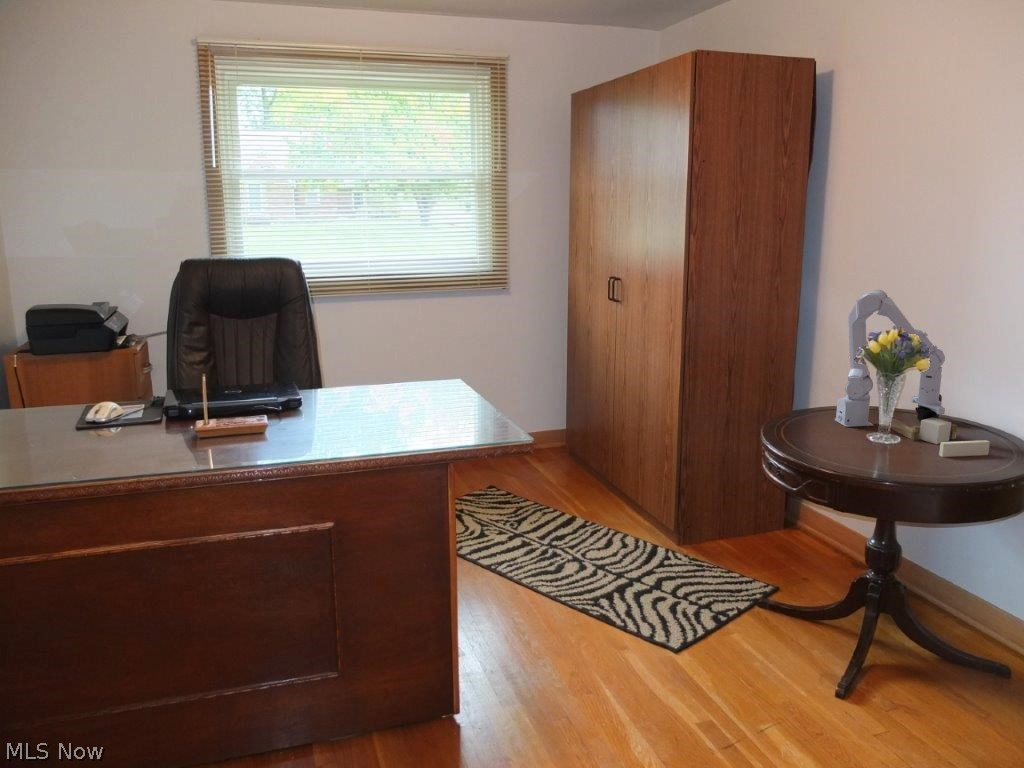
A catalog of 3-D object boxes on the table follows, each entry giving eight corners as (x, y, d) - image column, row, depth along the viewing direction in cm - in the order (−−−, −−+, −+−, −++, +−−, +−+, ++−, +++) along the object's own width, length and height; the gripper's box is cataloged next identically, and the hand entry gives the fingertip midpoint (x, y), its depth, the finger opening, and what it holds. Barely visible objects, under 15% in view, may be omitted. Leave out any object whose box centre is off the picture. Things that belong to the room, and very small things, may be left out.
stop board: (942, 456, 229) (943, 443, 228) (939, 455, 231) (940, 442, 230) (988, 454, 230) (989, 441, 229) (984, 453, 232) (986, 440, 231)
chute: (913, 440, 244) (915, 427, 243) (889, 427, 257) (890, 414, 256) (955, 439, 245) (957, 425, 244) (929, 425, 258) (930, 412, 257)
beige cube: (936, 444, 240) (939, 425, 239) (918, 438, 245) (920, 420, 244) (948, 440, 243) (951, 422, 242) (930, 435, 248) (933, 417, 247)
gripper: (956, 393, 239) (951, 436, 243) (928, 382, 253) (923, 422, 257) (934, 394, 239) (929, 437, 242) (906, 383, 253) (902, 423, 256)
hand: (924, 430), depth 249 cm, fingers closed
